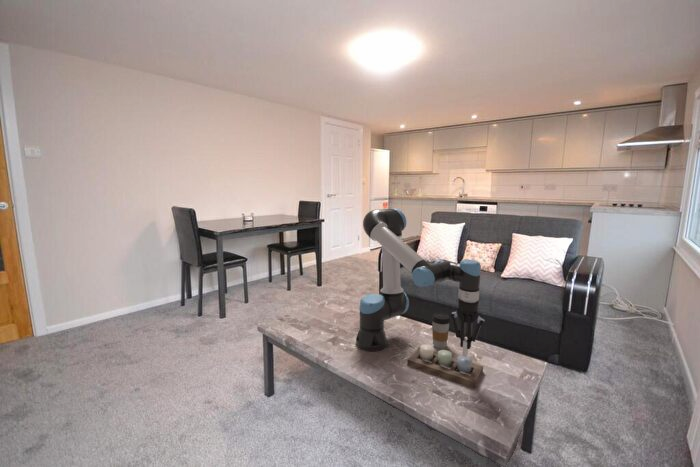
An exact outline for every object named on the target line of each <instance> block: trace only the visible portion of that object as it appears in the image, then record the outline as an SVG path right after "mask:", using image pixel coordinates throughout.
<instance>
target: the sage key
mask: <svg viewBox="0 0 700 467" xmlns="http://www.w3.org/2000/svg"><path fill="white" fill-rule="evenodd" d="M437 352H438V365H440V366H442V367H448V366H449V365H451V362H452V357H453V354H452V352H451V351H449V350H446V349H441V350H438V351H437Z"/></svg>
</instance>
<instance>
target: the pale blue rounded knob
mask: <svg viewBox="0 0 700 467" xmlns="http://www.w3.org/2000/svg"><path fill="white" fill-rule="evenodd" d="M456 358H457V370H458V371H459V372H461V373H471V372H470V371H471V365H472V363H473V361H472V358H471V357H469V356H468V355H467V356H466V357H464V356H462V355H459V356H458V357H456Z"/></svg>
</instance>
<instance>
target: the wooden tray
mask: <svg viewBox="0 0 700 467" xmlns="http://www.w3.org/2000/svg"><path fill="white" fill-rule="evenodd" d="M438 352H439V351H435V350H433V358H432V359H430V361H431V362H429V361H428V360H425V359H422V358H421V357H420V346H418V347H417V348H416V349H415V350H414V352H413V353H412V354H410V356H409V357H408V359H407V360H406V361H407V366H410V367H413V368H415V369H418V370H421V371H425V372H426V373H430V374H433V375H436V376H439V377H442V378H444V379H446V380H449V381H453V382H456V383H458V384H460V385H464V386H467V387H469V388H472V389H476V387H477V384H478V383H479V380H480V378H481V376H482V374H483V370H484V365H480V364H476V363H473V362H472V365H471V371H470V372H469V373H470V375H469V374H465V373H464V372H461V371H457V370H458V369H457V358H458V357H454V356H452V362H451V365H449V366H450V368H448V367H446V366H443V365H440V364H439V363H438Z"/></svg>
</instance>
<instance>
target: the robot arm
mask: <svg viewBox="0 0 700 467" xmlns="http://www.w3.org/2000/svg"><path fill="white" fill-rule="evenodd" d="M362 228H363V230H364V233H366V235H367V236H368V237H369V238H370V239H371V240H372V241H373V242H374V241H375V242H377V243H379V245H381V260H382V262H381V263H382V285H383V287H382V288H381V289H380V290H379V291H380V294H379V293H370V294H366V295H364V296H363V297H362V298H361V299H360V302H359V306H358V308H359V329H358V331H357V334H356V338H355V345H356V346H357V348H359V349H361V350H363V351H367V352H377V351H381V350H384V349H386V347H387V346H388V337H387V335H386V332H385V329H384V328H385V321H387V320H391V319H393V318H395V317H400V316H401V315H402V314H405V313H406V312H407V311H408V310H409V306H410V300H409V297H408V295H407V293H406V292H405V290H404V288H403V287H402V286H401V265H402V266H403V267H404V268H405V269H406V270H408V272H410V273H411V278H412V279H411V280H412V281H413V283H414V285H416V286H417V287H420V288H425V287H430V286H432V285H436V284H437V283H438V284H439V283H442V282H445V281H446V282H447V281H451V282H456V283H458V299H457V300H458V301H457V309H456V311H452V312H451V313H450V317H451V319H452V323H453V328H454V333H455V337H456V338H458V339H460V344H459V346H460V348H462V352H461V353H462V355H461V356H464V357H466V356H467V357H468V354H469V350H471V347H472V342H473V343H475V342H476V340H477V339H478V336H479V333H480V329H481V327H482V325H483V324H485V322H486V319H485V318H482V317H481V316H480V314H479V300H480V283H481V275H482V272H481V268H482V267H481V263H480V262H479V261H478V260H476V259H475V260H474V259H462V260H460V262H459V263H458V262H456V261H451V260H447V259H440V258H438V259H436V260H435V261H433V263H431V264H430V263H429V262H428V261H426V259H424V258H423V257H422V256H421V255H419V253H417V251H415V250H414V249H413V248H412V247H410V246H409V245H408V244H407V243H405V242H404V241H403V240H402V239H401V238H402V236H403V231H404V230H405V229H406V228H407V218H406V215H405V213H404V212H403V211H402V210H401V209H398V208H392V207H391V208H383V209H373V210H371V211H368V212H367V213H366V214H365V216H364V218H363V221H362ZM459 320H460V323H459ZM475 321H476V322H477V325H476V327H475V331H474V333H473V325H474V322H475ZM460 325H461V326H460ZM466 326H467V327H466ZM466 329H467V336H466Z"/></svg>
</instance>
